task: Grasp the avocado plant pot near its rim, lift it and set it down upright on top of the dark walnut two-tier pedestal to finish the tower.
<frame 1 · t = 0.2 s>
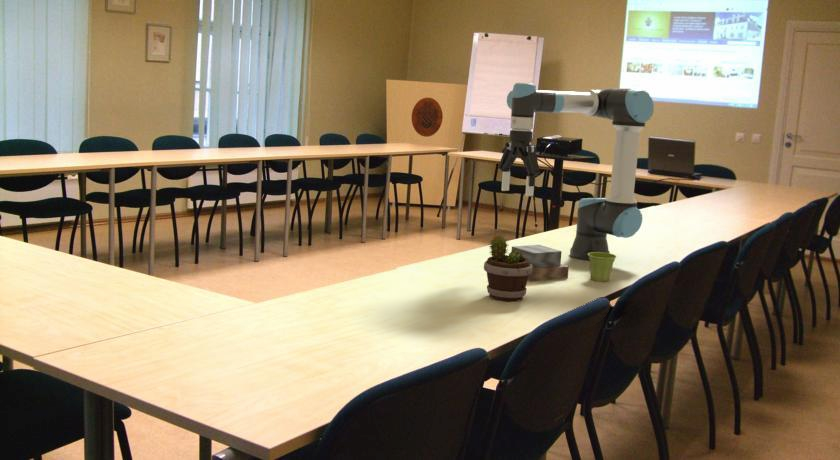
hand: (517, 193, 277), 28 cm above the table, fingers open, 13 cm apart
pedestal: (534, 274, 281), on the table
plant pot: (599, 280, 278), on the table
flowerpot: (506, 297, 248), on the table
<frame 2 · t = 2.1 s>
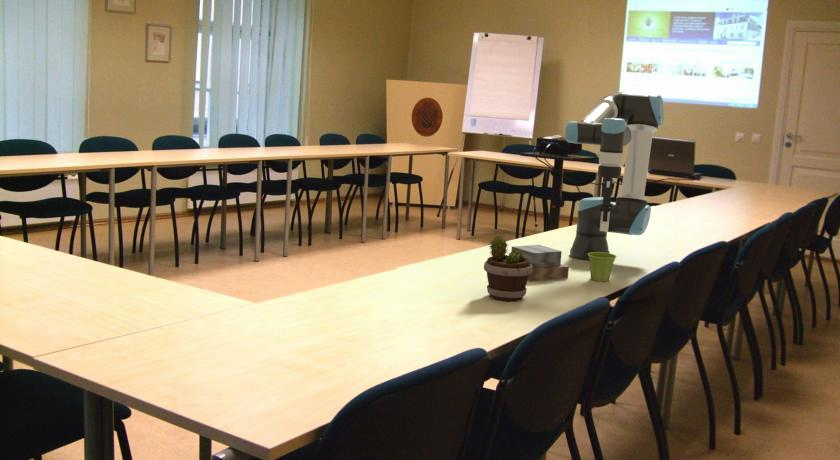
hand: (604, 228, 275), 18 cm above the table, fingers open, 13 cm apart
nothing on the table moved.
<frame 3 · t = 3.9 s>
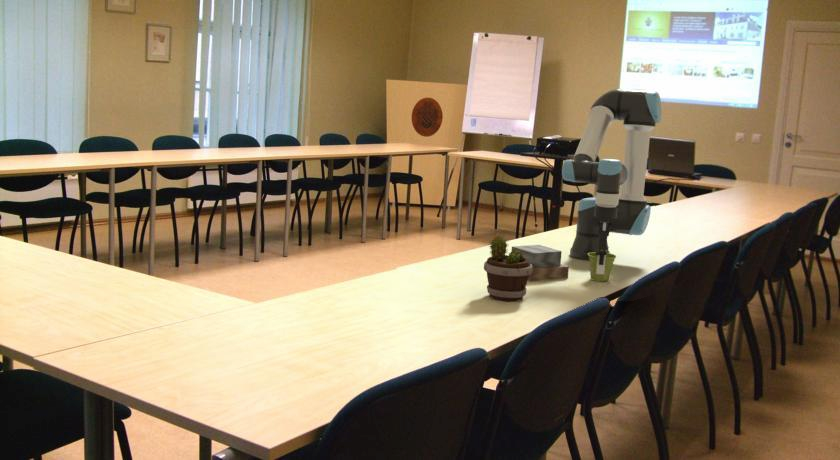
hand: (600, 270, 278), 3 cm above the table, fingers closed on plant pot, 9 cm apart
plant pot: (599, 280, 278), on the table, touching gripper
everything else where it was.
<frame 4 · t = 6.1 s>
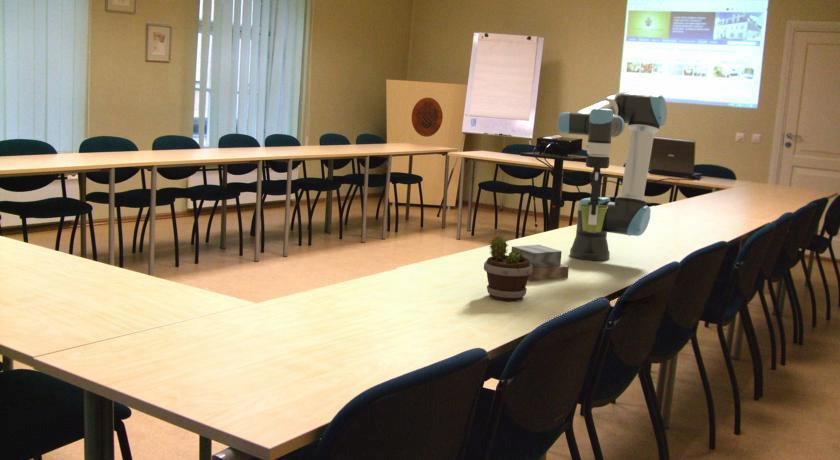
hand: (592, 222, 276), 20 cm above the table, fingers closed on plant pot, 9 cm apart
plant pot: (591, 232, 276), point 16 cm above the table, touching gripper
everything else where it was.
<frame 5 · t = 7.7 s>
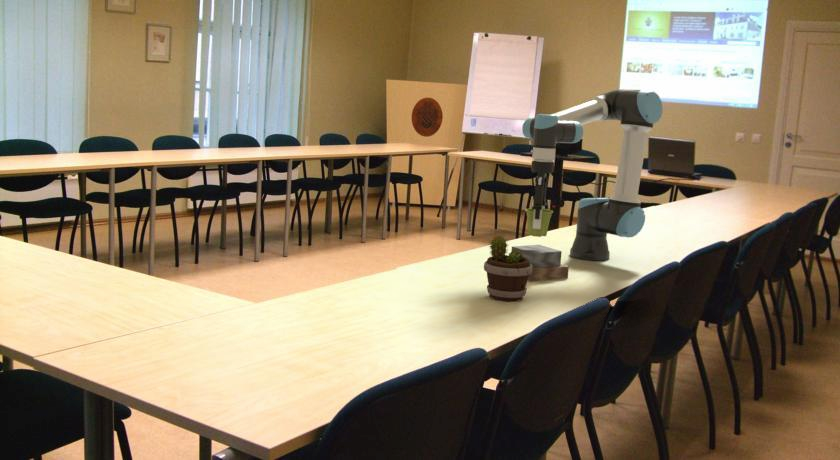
hand: (538, 226, 278), 17 cm above the table, fingers closed on plant pot, 9 cm apart
plant pot: (537, 236, 279), point 13 cm above the table, touching gripper
everything else where it was.
when the fingers open (13 cm above the table, at t = 8.7 s): plant pot drops 1 cm, resting on pedestal.
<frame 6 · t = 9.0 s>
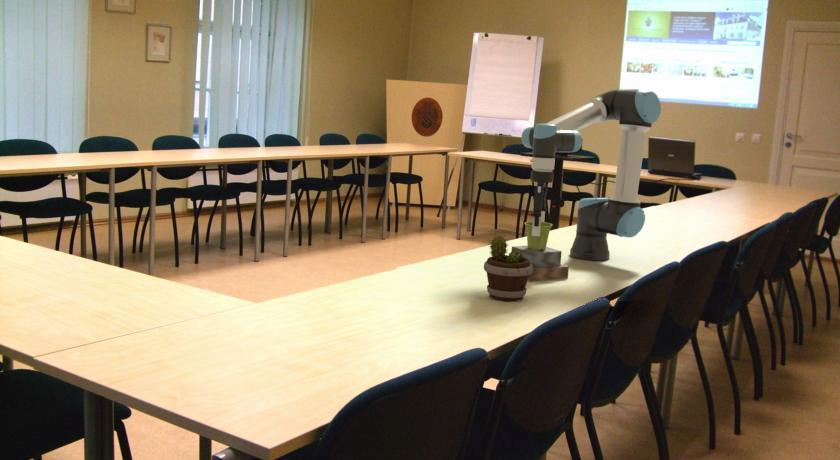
hand: (537, 232, 279), 15 cm above the table, fingers open, 13 cm apart
plant pot: (536, 249, 280), point 9 cm above the table, touching pedestal
everything else where it was.
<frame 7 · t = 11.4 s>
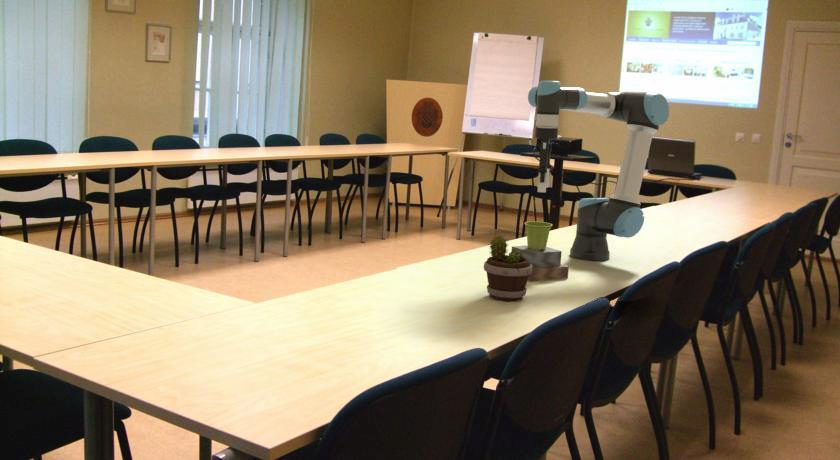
hand: (543, 189, 280), 29 cm above the table, fingers open, 13 cm apart
nothing on the table moved.
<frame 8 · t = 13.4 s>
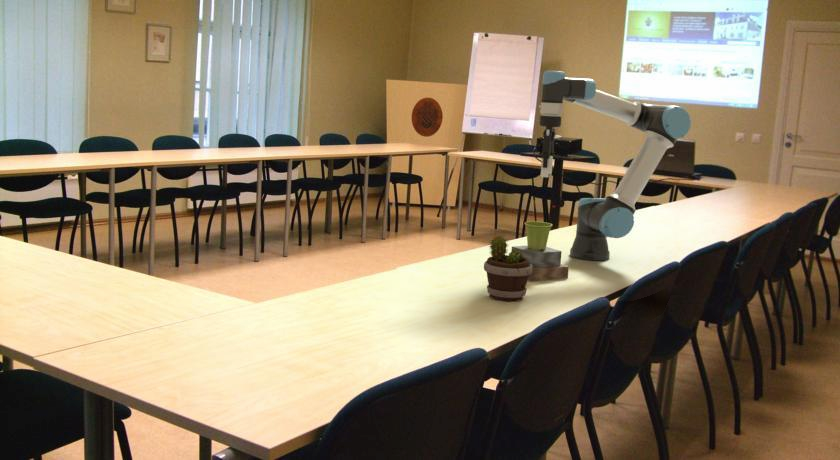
hand: (546, 175, 292), 33 cm above the table, fingers open, 13 cm apart
nothing on the table moved.
at the end: plant pot inside the target area on the pedestal (0.3 cm from its centre), point 8.8 cm above the pedestal's base; plant pot tilted 0°; the gripper is holding nothing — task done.
